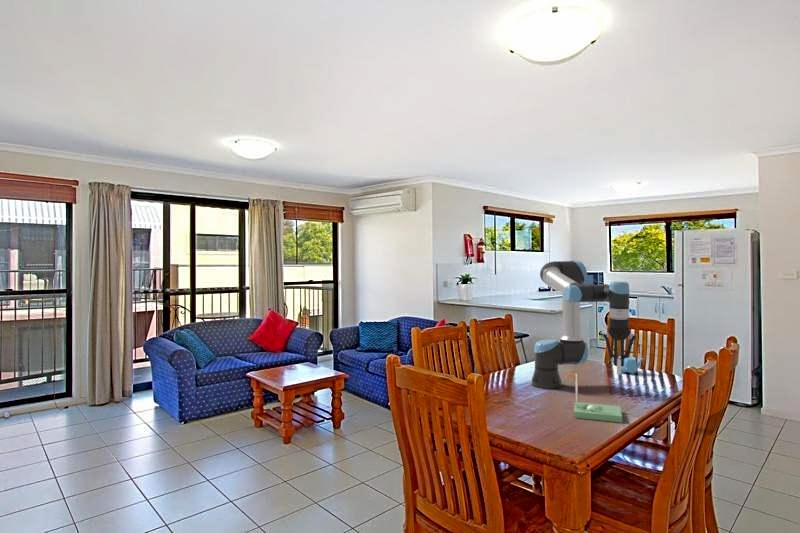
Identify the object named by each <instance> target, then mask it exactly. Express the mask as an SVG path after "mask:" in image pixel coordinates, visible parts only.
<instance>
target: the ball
mask: <svg viewBox="0 0 800 533" xmlns="http://www.w3.org/2000/svg"><path fill="white" fill-rule="evenodd" d="M587 410H596V408H595V407H594V406H593V405H589V406H588V407H587Z"/></svg>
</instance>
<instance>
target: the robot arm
mask: <svg viewBox="0 0 800 533" xmlns="http://www.w3.org/2000/svg"><path fill="white" fill-rule="evenodd" d="M539 276H540V279H541V281H542V282H543V283H544V284H546V285H547V286H552V287H553V288H555V289H557V290H558V291H560V292H561V293H562V302H561V304H562V336H561V337H559V342H558V339H553V338H551V339H549V338H547V339H542V340H537V341H536V342H535V344H534V351H533V352H534V371H533V374H532V377H531V386H533V387H535V388H540V389H549V390H550V389H560V388H562V387H563V386H562V385H563V383H562V379H561V376H560V373H559V366H562V365H564V366H565V365H569V366H570V365H574V366H576V365H583V364H584V363H585V362H587V360H588V356H589V348H588V344H587V343H586V342H585V341H584V338H583V337H582V335H581V303H604V302H605V303H609V306H608V307H609V313H608V314H609V322H608V324H609V327H608V330H607V332H604V333H602V337H603V339H604V340H605V343H606V347H607V350H608V355H609V357H610V358H613V359H614V363H613V366H614V367H616V375H619V376H620V375H622V374H621V366H624V359H625V358H628V357H630V354H631V350H632V347H633V343H634V341H635V340H636V338H637V336H636V335H635V334H633V333H631V331H630V320H629V319H630V283H628V282H627V281H620V280H619V281H617V280H616V281H611V282H609V284H608V283H601V284H585V283H586V282H587V279H588V272H587V268H586V266H585V264H584V263H583V262H582V261H579V260H578V261H577V260H569V261H567V260H561V261H556V260H555V261H549V262H546V263H545V264H544V265H543V266H542V267H541V269H540V273H539ZM610 337H611V338H612V340H613V350H612V348H611V343H610V339H609V338H610ZM627 338H628V339H629V341H628V344H627V347H626V352H625V340H626V339H627ZM618 341H620V356H621V358H619V357H618ZM612 351H613V352H612Z"/></svg>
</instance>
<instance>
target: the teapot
mask: <svg viewBox="0 0 800 533" xmlns="http://www.w3.org/2000/svg"><path fill="white" fill-rule="evenodd" d="M618 358H621V355H620V356H618ZM644 359H645V358H644V357H641V358H639V360H638V363H637V359H636V357H635V356H629V357H628V358H625V359H624V366H621V375H622V374H623V375H625V373H629V375H634V374H636V373H637V371H638V369H639V368H640V367H641V365H642V361H643V360H644ZM610 362H611V363H613V364H614V358H613V357H611V359H610Z"/></svg>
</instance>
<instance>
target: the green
mask: <svg viewBox="0 0 800 533" xmlns="http://www.w3.org/2000/svg"><path fill="white" fill-rule="evenodd" d="M567 379H573V380H575V402H574V408H573V418H574V419H586V420H594V421H604V422H612V423H613V422H614V423H623V414H622V410H621V406H620V405H611V404H599V403H589V402H579V398H578V397H579V396H578V395H579V394H578V393H579V391H578V390H579V389H578V386H579V385H578V384H579V383H578V374H577V373H569V372H568V373H567ZM589 405H593V406H594V407H595V408H596V410H587V407H588V406H589Z"/></svg>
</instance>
